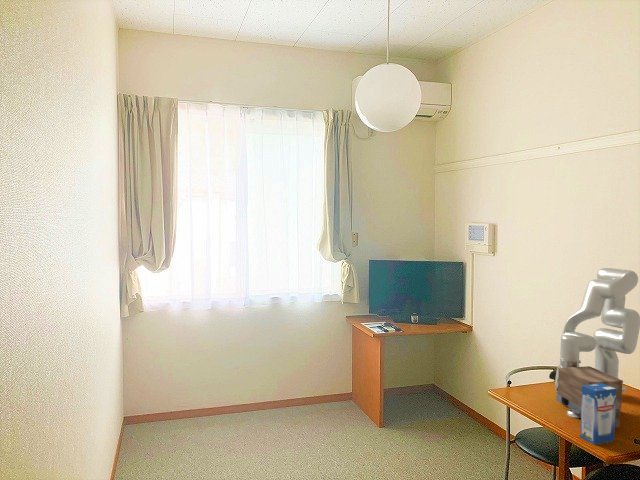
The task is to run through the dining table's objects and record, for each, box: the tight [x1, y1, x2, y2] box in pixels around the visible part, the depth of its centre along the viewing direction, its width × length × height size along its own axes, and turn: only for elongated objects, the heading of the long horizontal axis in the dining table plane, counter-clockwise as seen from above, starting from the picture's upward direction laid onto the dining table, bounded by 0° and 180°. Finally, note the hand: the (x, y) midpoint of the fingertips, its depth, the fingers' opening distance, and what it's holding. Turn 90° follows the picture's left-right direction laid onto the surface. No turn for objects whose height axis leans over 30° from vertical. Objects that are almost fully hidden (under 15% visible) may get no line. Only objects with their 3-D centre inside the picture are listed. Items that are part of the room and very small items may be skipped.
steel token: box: [566, 408, 581, 419], centre depth 203 cm, size 6×6×2 cm
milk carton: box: [579, 383, 616, 446], centre depth 181 cm, size 10×6×20 cm, turn 108°
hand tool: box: [548, 370, 557, 381], centre depth 245 cm, size 19×4×5 cm, turn 54°
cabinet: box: [557, 366, 624, 429], centre depth 199 cm, size 15×19×19 cm
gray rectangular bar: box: [555, 391, 581, 411], centre depth 210 cm, size 3×20×4 cm, turn 9°
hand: (568, 403), depth 214 cm, fingers closed on gray rectangular bar, 2 cm apart
